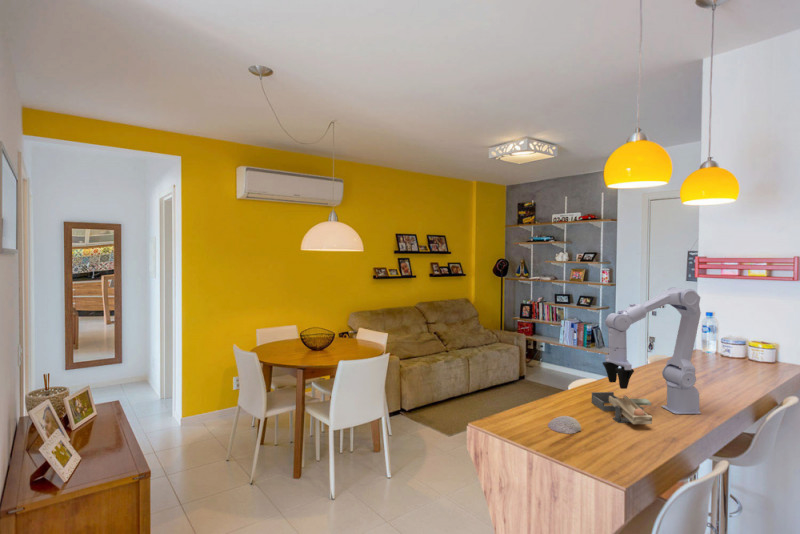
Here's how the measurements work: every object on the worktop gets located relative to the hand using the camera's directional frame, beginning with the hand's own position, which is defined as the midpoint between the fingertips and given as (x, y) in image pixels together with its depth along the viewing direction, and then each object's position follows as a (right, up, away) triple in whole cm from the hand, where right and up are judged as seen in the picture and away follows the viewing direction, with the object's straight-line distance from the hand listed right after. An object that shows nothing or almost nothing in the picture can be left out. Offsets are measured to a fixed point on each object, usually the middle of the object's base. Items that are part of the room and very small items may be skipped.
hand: (617, 385), depth 154 cm
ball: (0, -5, -14) cm, 15 cm away
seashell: (-24, -11, -13) cm, 29 cm away
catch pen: (0, -10, +6) cm, 12 cm away
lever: (+3, -7, -8) cm, 11 cm away
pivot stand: (0, -10, -8) cm, 13 cm away
